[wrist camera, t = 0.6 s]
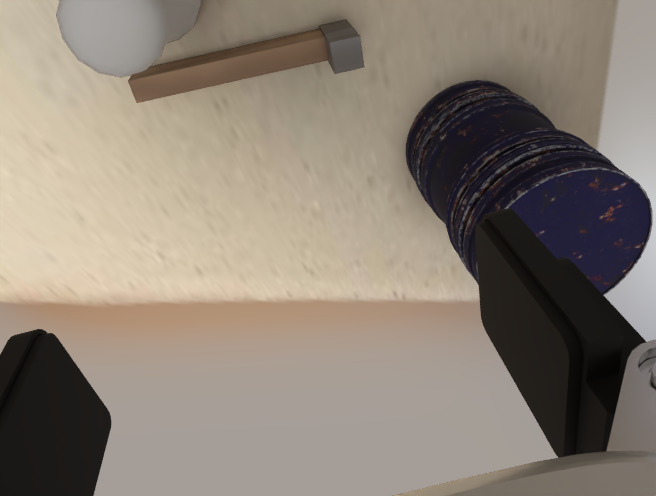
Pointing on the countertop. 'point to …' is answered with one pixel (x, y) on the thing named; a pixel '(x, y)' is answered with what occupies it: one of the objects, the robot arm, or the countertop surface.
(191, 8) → the salt shaker
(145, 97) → the chute
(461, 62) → the countertop surface
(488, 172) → the dark blue cylinder
